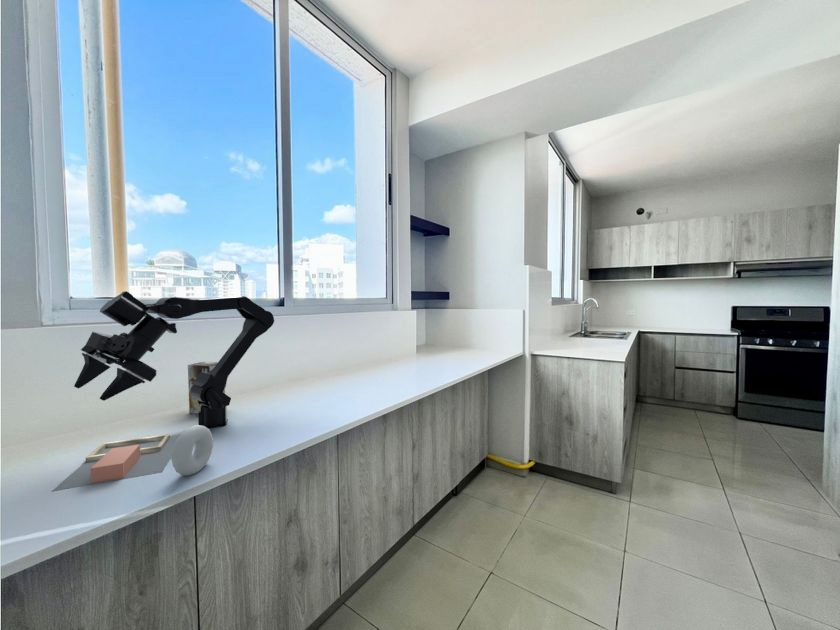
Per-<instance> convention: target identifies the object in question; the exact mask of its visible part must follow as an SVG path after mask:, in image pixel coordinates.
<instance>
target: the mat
mask: <svg viewBox="0 0 840 630" xmlns="http://www.w3.org/2000/svg"><path fill="white" fill-rule="evenodd" d="M181 434H182V433H180V434H173V435H170V439H169V440H168V441H167V443H166V444H165V446H164V447H163V448H162V450H161V451H156V452H150V453H143V454H140V458H139V460H138V461H137V462H136V463H135V464H134V466H133V467H132V468H131V469H130V471H129V472H128V473H127V474H126V475H125V477H124V478H119V479H113V480H108V481H102V482H96V483H91V468H92V467H93V466H94V465H95V464H96V463H97V462H98V461H99V460H97V461H90V462H86V461H85V462H84V463H82V464H81V465H80V466H78V468H76V469H75V470H74V471H73V472H71V474H69V476H67V477H66V478H65V479H64V480H62V482H60V483H59V484H58V485H57V486H55V488H53V489H52V490H51V492H55V491H56V492H57V491H63V490H68V489H69V490H70V489H75V488H79V487H80V488H81V487H84V486H91V485H96V484H103V483H108V482H114V481H120V480H127V479H132V478H136V477H137V478H138V477H143V476H148V475H154V474H160V473H163V472H164V470H165V468H166V467H167V465H168V463H169V462H170V461H171V460H172V451H173V448H174V445H175V443H176V441H177V439H178V437H179V436H180V435H181ZM161 441H162V440H158V441H151V442H144V443H137V444H129V445H122V446H115V447H108V448H105V449H104V450H103V451H102V452H101V453H99V454H106V453H108V452H109V451H110V450H111V449H112V448H119V447H126V446H133V445H140V449H141V448H147V447H154V446H158V445H159V443H160V442H161ZM99 454H98V455H99Z"/></svg>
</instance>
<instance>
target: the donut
mask: <svg viewBox="0 0 840 630" xmlns="http://www.w3.org/2000/svg"><path fill="white" fill-rule="evenodd" d="M180 434H181V435H180V436H179V437H178V439H177V441H176V443H175V445H174V448H173V451H172V457H171V462H172V466H173V468H174V470H175V472H176V473H177V474H179V475H181V476H193V475H195V474H196V473H198V472H200V471H201V470H202V469H203V468H204V467H205V466H206V464H208V462H209V460H210V458H211V455H212V452H213V448H214V439H213V434H212V432H211V431H210V429H208V428H207V427H205V426H201V425H198V424H196V425H192V426H189V427H188V428H186V429H185V430H183V431H182V432H181V433H180ZM193 449H194V452H193Z"/></svg>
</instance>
